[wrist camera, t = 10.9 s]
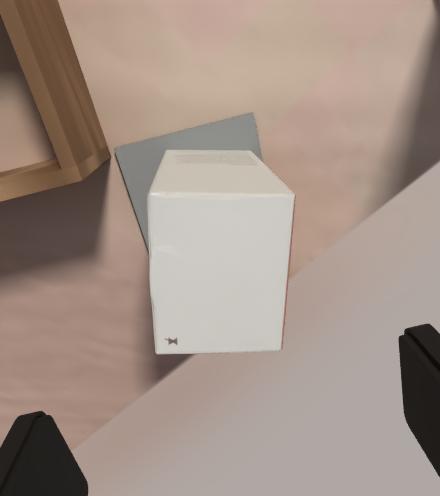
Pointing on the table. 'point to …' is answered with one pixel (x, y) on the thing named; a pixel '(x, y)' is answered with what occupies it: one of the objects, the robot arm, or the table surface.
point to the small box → (218, 253)
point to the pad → (198, 138)
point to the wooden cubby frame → (52, 99)
